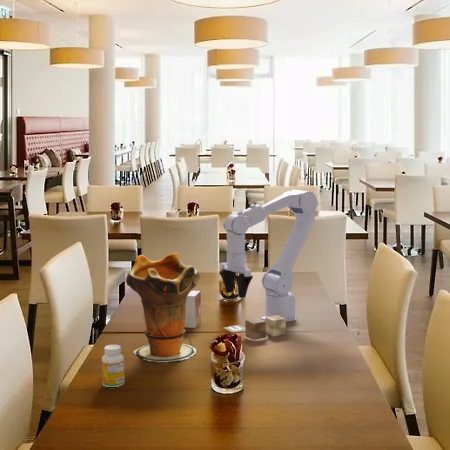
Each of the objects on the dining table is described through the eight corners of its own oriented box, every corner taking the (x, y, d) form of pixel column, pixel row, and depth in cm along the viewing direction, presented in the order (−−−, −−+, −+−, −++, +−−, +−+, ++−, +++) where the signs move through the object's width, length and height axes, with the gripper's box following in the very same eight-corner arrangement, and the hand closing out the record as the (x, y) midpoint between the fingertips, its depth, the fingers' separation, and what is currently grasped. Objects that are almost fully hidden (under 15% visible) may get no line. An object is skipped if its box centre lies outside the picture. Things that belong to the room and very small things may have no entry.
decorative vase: (146, 370, 181) (143, 264, 179) (118, 350, 202) (114, 254, 199) (218, 358, 191) (215, 257, 188) (183, 340, 211) (181, 248, 209)
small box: (195, 328, 220) (195, 296, 219) (178, 327, 221) (178, 295, 220) (201, 321, 228) (201, 290, 227) (184, 320, 229) (184, 289, 228)
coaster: (259, 333, 215) (259, 331, 215) (272, 339, 209) (272, 337, 209) (240, 336, 212) (240, 335, 212) (252, 342, 206) (252, 341, 206)
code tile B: (277, 330, 218) (277, 329, 218) (288, 335, 213) (288, 334, 213) (261, 333, 215) (261, 332, 215) (272, 338, 210) (272, 337, 210)
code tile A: (238, 325, 224) (238, 324, 224) (248, 330, 219) (248, 329, 219) (222, 328, 221) (222, 327, 221) (232, 332, 216) (232, 332, 215)
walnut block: (257, 333, 213) (257, 317, 213) (265, 337, 209) (266, 321, 209) (245, 336, 211) (245, 320, 210) (253, 339, 207) (253, 323, 207)
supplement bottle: (103, 381, 175) (102, 343, 174) (125, 380, 175) (124, 343, 174) (101, 389, 170) (100, 350, 168) (123, 388, 170) (122, 350, 169)
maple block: (277, 330, 217) (277, 315, 216) (285, 334, 213) (285, 318, 212) (265, 332, 215) (265, 317, 214) (273, 336, 211) (273, 320, 210)
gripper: (213, 250, 224) (213, 291, 226) (237, 257, 211) (237, 301, 213) (231, 248, 227) (231, 289, 229) (256, 255, 215) (256, 298, 217)
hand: (235, 294), depth 221 cm, fingers open, 7 cm apart
